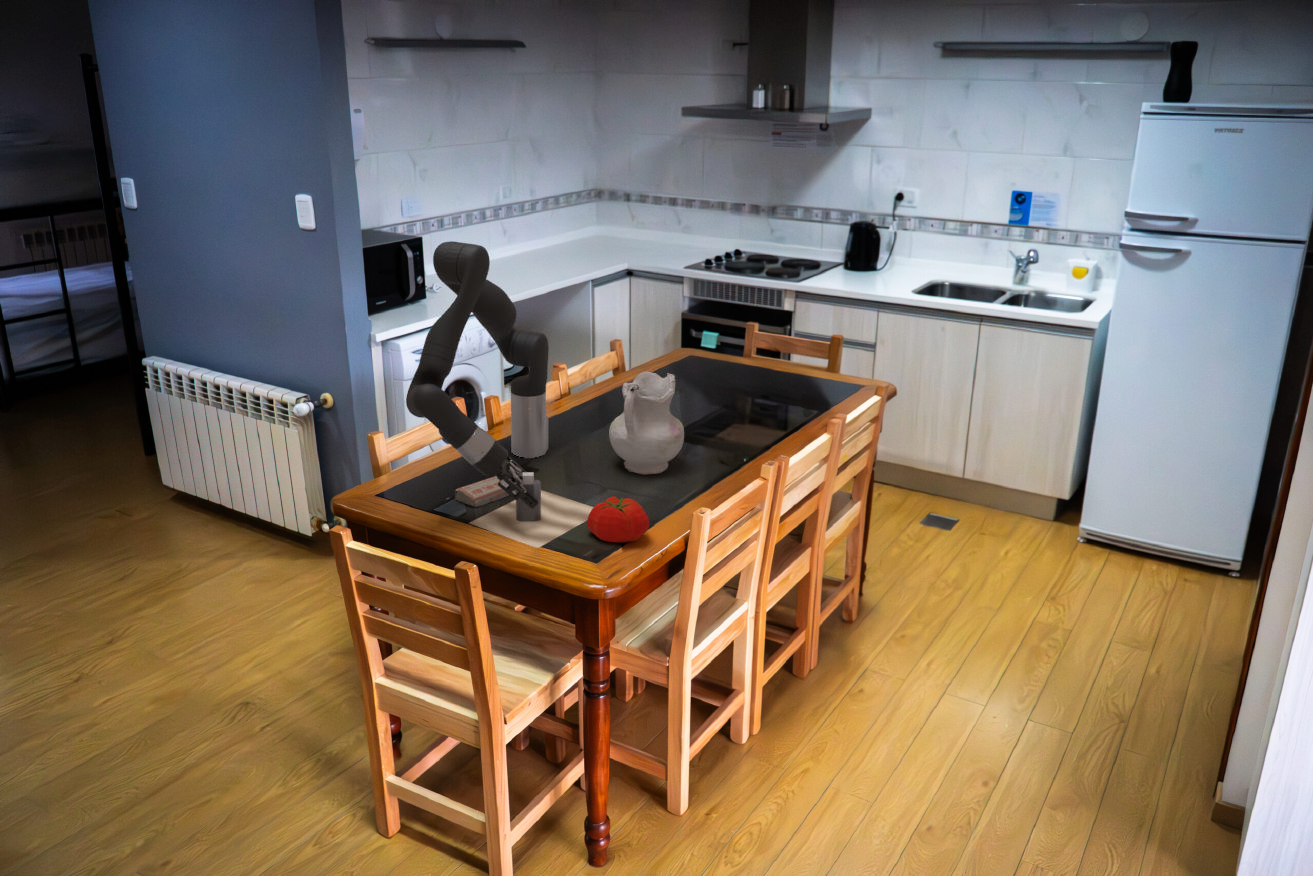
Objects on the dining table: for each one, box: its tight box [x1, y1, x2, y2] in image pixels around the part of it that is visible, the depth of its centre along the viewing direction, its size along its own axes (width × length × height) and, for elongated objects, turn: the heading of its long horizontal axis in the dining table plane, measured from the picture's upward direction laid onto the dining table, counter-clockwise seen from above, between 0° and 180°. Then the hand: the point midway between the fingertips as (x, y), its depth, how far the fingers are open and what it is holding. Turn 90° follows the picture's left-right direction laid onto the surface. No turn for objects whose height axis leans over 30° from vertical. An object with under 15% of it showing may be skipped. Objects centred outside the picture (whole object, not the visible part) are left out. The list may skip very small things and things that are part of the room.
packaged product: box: [446, 475, 516, 508], centre depth 239 cm, size 18×5×10 cm
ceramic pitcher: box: [608, 370, 685, 476], centre depth 258 cm, size 22×20×25 cm
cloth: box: [468, 489, 595, 549], centre depth 230 cm, size 24×20×1 cm
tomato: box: [586, 496, 650, 544], centre depth 223 cm, size 14×13×9 cm
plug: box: [516, 471, 542, 522], centre depth 226 cm, size 3×6×11 cm, turn 97°
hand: (535, 498), depth 227 cm, fingers open, 6 cm apart
